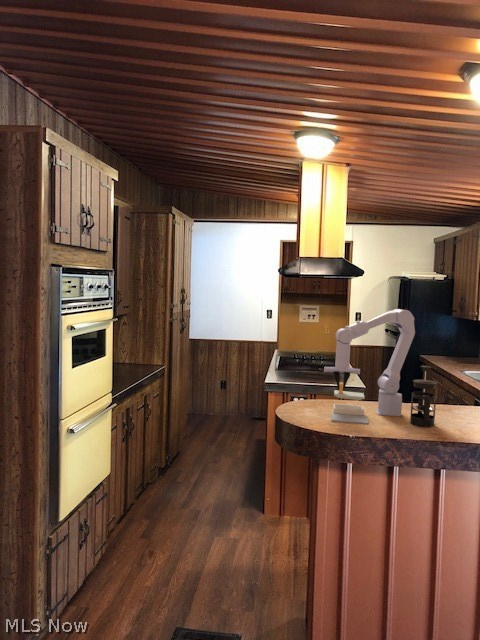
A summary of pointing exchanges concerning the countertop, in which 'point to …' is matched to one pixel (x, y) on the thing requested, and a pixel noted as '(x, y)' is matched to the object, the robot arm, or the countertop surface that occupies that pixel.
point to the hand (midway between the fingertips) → (340, 390)
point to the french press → (423, 403)
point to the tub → (348, 409)
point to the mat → (349, 418)
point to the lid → (347, 394)
